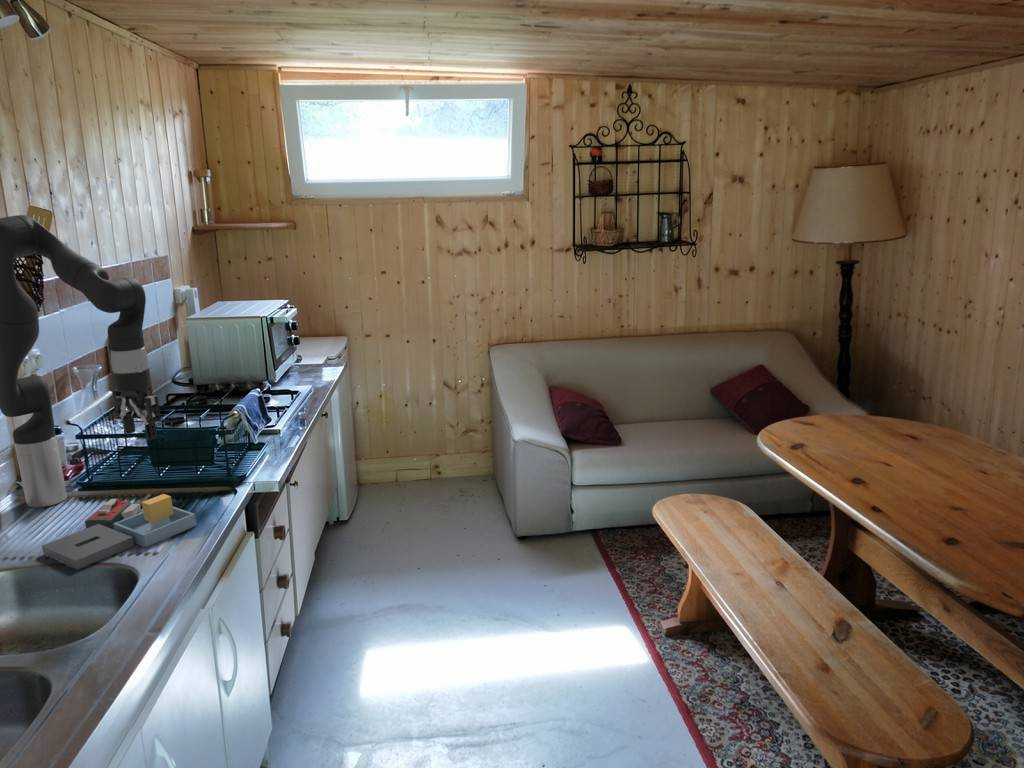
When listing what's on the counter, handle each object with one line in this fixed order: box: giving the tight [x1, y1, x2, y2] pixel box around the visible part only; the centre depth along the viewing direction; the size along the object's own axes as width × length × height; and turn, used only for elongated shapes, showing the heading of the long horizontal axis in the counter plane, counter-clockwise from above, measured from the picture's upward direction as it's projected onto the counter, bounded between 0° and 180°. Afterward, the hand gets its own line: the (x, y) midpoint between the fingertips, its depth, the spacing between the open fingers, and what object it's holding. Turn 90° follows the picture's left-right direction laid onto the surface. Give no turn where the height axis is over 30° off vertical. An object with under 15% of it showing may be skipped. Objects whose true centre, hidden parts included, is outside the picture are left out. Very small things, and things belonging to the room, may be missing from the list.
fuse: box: [141, 493, 174, 530], centre depth 186 cm, size 3×6×7 cm, turn 146°
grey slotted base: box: [41, 524, 135, 571], centre depth 176 cm, size 14×13×2 cm
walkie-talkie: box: [84, 493, 152, 530], centre depth 195 cm, size 9×4×20 cm
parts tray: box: [113, 505, 197, 548], centre depth 185 cm, size 12×13×3 cm
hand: (141, 435), depth 180 cm, fingers open, 8 cm apart
